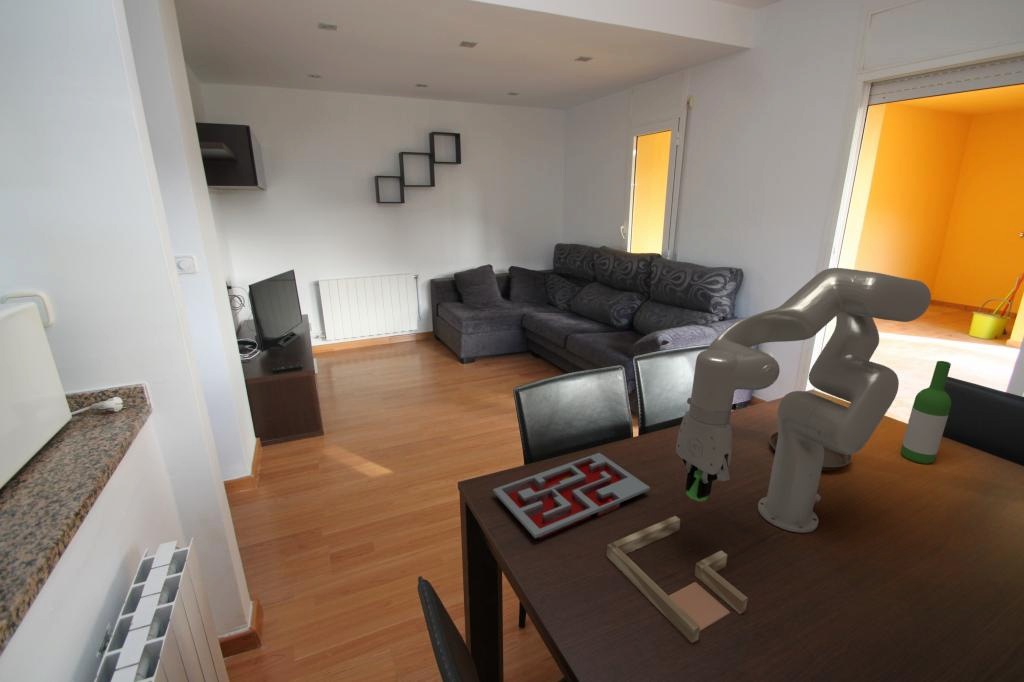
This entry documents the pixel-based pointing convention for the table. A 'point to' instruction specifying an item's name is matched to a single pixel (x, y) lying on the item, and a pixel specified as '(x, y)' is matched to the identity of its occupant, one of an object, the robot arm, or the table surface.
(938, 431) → the wine bottle
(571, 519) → the maze game
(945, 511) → the table surface
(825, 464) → the plant saucer
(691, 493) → the game piece
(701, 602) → the bent track
